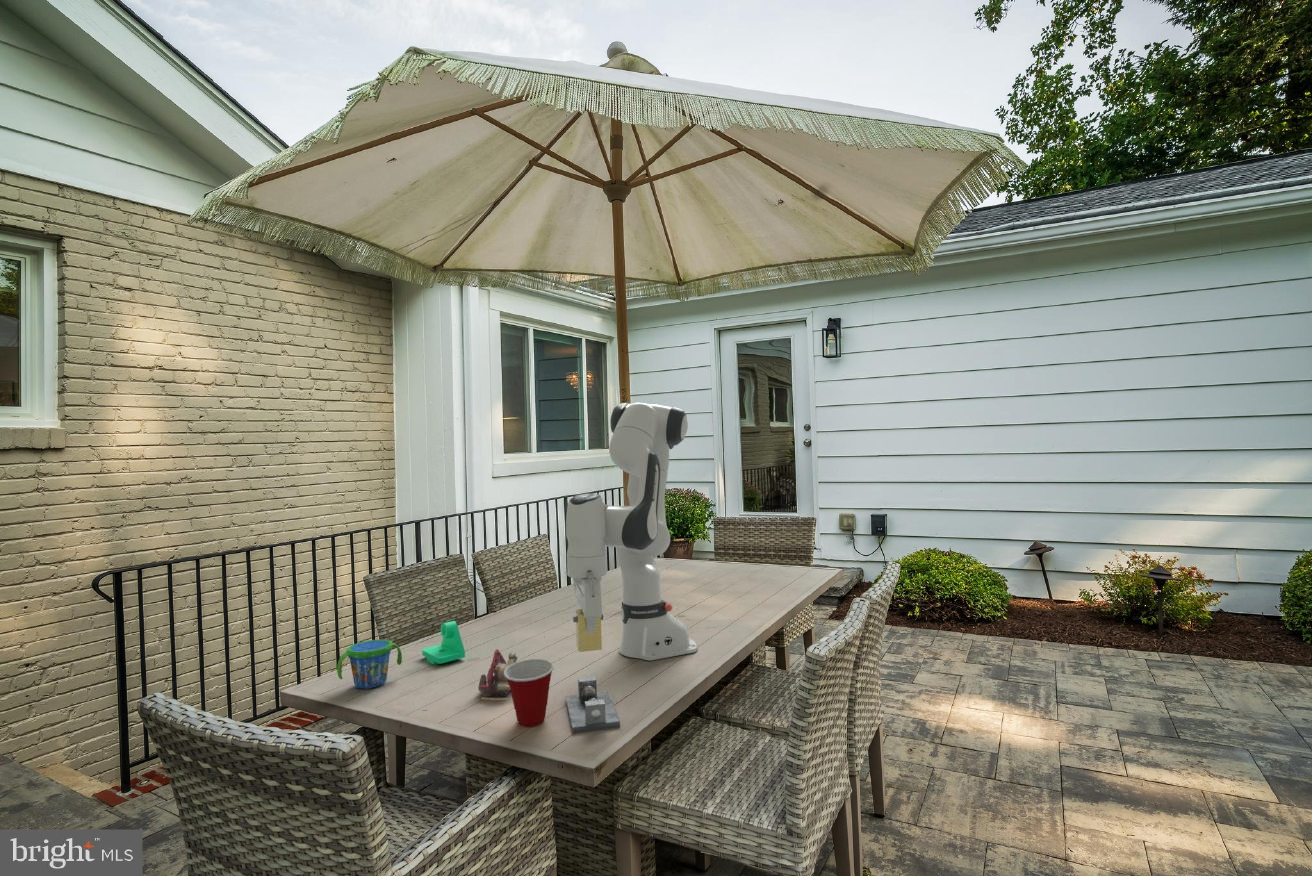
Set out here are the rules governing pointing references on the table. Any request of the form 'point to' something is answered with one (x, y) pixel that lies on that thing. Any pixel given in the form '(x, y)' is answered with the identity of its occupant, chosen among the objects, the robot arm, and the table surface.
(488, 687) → the brake caliper
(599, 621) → the block
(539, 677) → the plastic cup
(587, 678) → the shaft stand
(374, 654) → the snack cup
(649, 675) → the table surface
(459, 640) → the camera mount
